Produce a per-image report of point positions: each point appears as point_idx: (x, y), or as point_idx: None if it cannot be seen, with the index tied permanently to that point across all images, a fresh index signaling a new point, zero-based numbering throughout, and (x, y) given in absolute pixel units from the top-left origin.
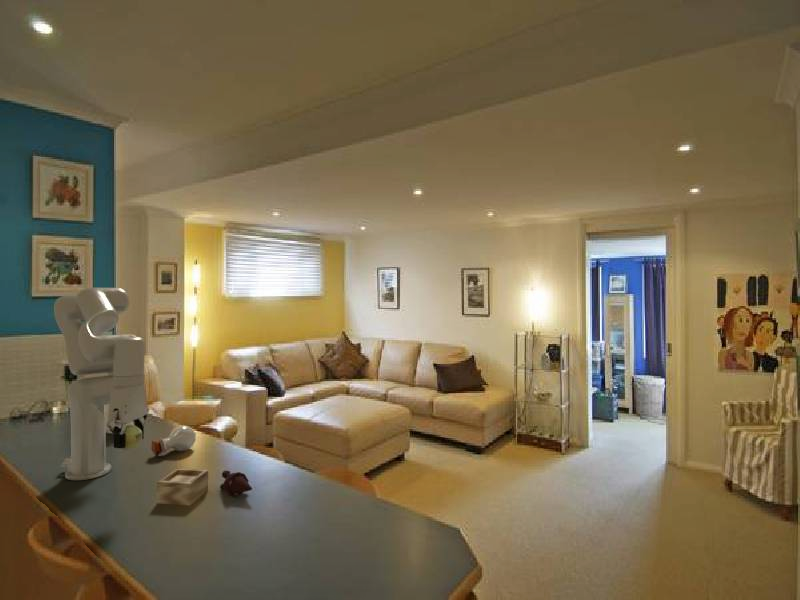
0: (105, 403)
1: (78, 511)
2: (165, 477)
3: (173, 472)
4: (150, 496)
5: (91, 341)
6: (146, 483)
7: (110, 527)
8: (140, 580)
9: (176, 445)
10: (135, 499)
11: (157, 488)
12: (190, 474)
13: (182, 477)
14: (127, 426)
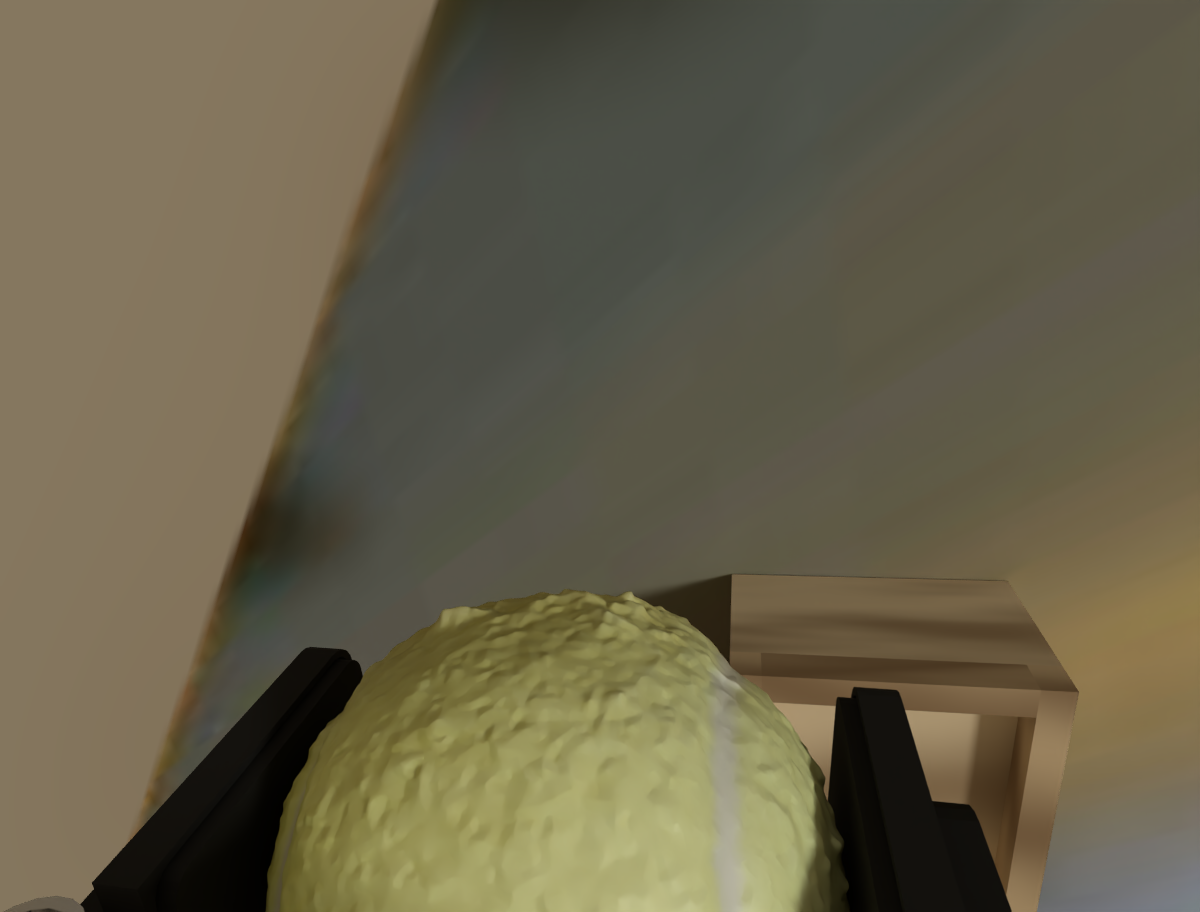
0: None
1: (503, 78)
2: (832, 694)
3: (960, 705)
4: (837, 466)
5: None
6: (1127, 259)
7: (391, 487)
8: None
9: None
10: (772, 386)
11: (731, 640)
12: (1004, 787)
13: (929, 755)
14: None
